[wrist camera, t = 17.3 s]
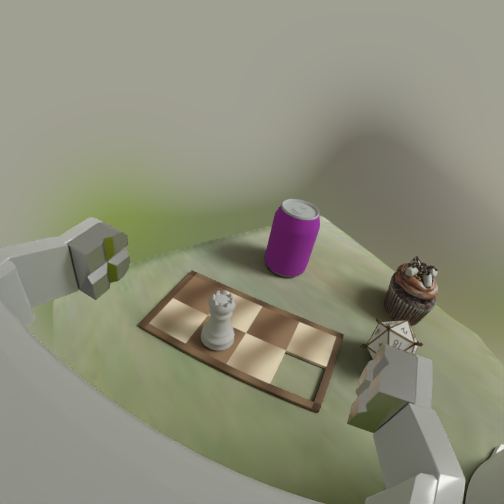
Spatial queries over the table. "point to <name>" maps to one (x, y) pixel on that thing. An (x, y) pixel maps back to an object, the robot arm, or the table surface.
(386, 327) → the game die
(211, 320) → the rook chess piece
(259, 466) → the table surface
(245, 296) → the board
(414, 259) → the cupcake
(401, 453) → the robot arm
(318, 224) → the beverage can
